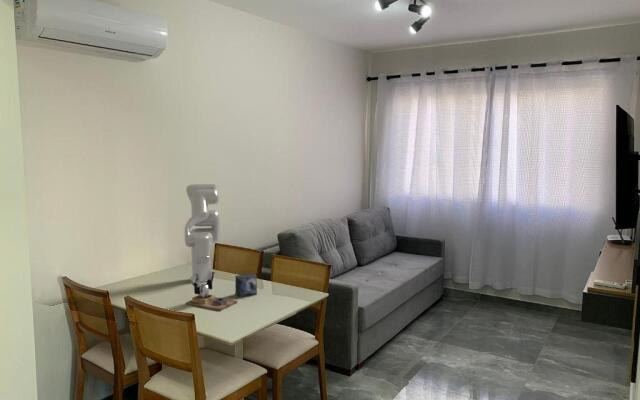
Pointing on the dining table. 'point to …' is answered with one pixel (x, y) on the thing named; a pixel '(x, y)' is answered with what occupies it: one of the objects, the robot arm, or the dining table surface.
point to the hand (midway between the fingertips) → (203, 291)
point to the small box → (246, 285)
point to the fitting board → (211, 303)
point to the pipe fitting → (204, 291)
